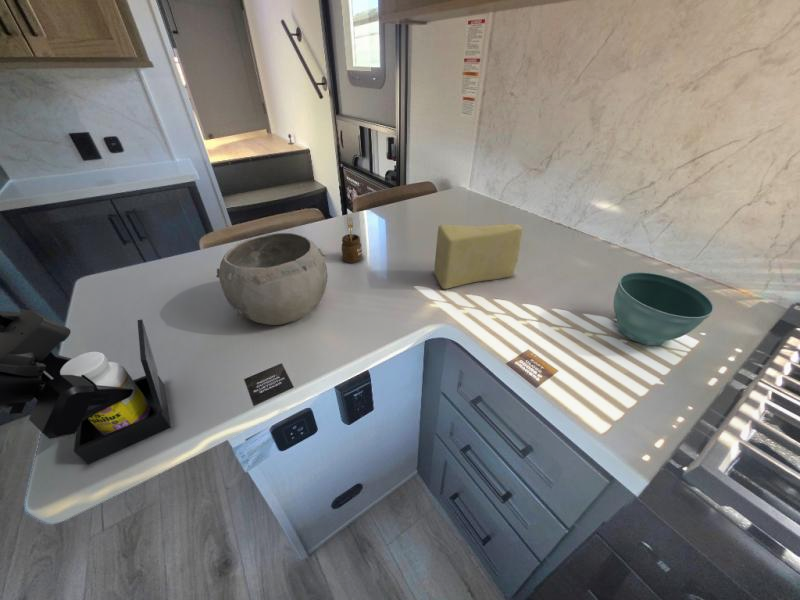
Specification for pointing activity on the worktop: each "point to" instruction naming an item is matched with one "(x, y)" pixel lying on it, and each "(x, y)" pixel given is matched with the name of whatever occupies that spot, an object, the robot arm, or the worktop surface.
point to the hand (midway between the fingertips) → (114, 380)
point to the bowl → (274, 278)
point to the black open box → (122, 429)
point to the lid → (149, 366)
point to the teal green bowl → (658, 307)
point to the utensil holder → (351, 246)
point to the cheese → (476, 253)
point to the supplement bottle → (114, 376)
